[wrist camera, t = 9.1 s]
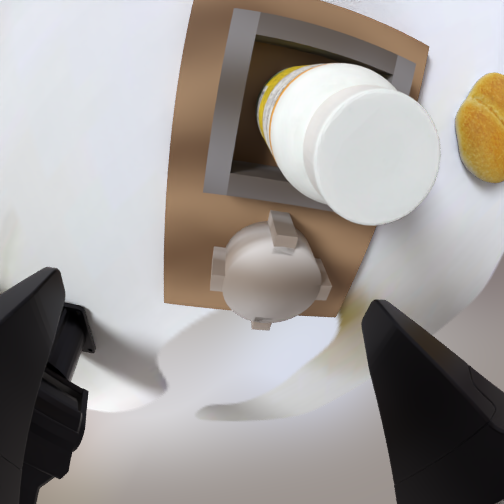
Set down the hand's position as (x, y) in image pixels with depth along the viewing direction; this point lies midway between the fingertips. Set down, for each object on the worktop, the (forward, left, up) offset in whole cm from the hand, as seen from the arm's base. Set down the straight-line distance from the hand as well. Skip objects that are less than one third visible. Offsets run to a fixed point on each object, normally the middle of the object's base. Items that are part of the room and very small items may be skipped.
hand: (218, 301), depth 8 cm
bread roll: (+9, -19, -12) cm, 24 cm away
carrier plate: (0, -4, -12) cm, 12 cm away
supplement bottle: (+4, -4, -11) cm, 12 cm away
